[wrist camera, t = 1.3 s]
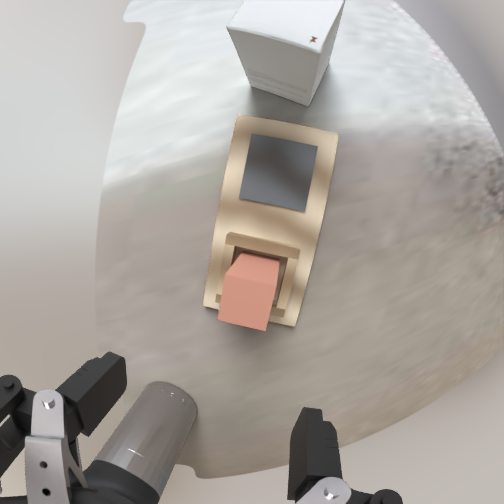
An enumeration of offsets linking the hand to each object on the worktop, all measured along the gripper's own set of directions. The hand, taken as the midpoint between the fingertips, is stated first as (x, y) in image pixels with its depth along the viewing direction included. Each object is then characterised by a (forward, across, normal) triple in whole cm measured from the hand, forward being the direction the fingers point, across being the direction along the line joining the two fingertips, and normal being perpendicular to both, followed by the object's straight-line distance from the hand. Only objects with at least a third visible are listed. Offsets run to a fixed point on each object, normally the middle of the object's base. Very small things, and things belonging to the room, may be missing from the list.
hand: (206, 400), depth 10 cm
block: (+20, 0, 0) cm, 20 cm away
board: (+21, 0, -6) cm, 22 cm away
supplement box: (+22, +1, -23) cm, 32 cm away
